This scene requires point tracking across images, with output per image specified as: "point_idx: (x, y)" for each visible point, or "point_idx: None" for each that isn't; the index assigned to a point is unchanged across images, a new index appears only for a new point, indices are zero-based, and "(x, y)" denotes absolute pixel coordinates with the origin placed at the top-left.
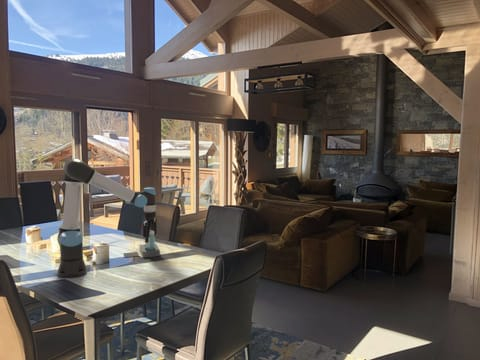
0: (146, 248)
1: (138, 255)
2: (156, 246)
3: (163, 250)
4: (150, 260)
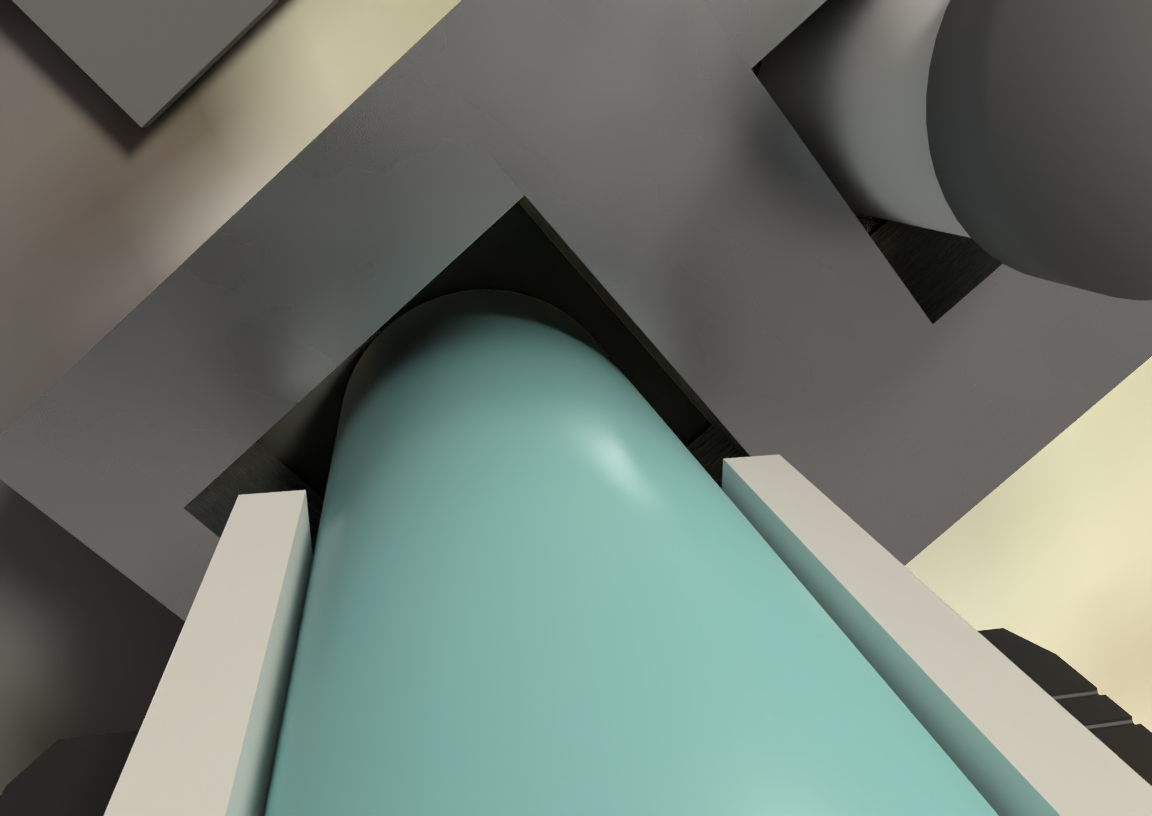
0: (356, 429)
1: (158, 94)
2: (923, 504)
3: (1057, 485)
4: (10, 740)
